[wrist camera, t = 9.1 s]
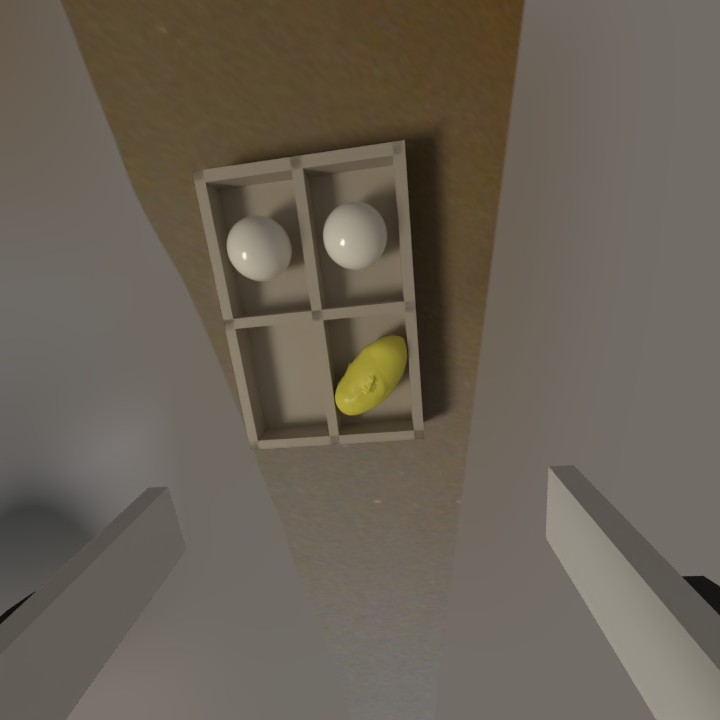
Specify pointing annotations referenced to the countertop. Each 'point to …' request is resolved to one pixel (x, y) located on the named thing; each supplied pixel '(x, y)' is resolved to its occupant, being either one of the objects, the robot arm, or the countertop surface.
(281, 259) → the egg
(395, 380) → the yellow oval piece
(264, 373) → the divided tray
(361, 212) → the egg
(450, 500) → the countertop surface
